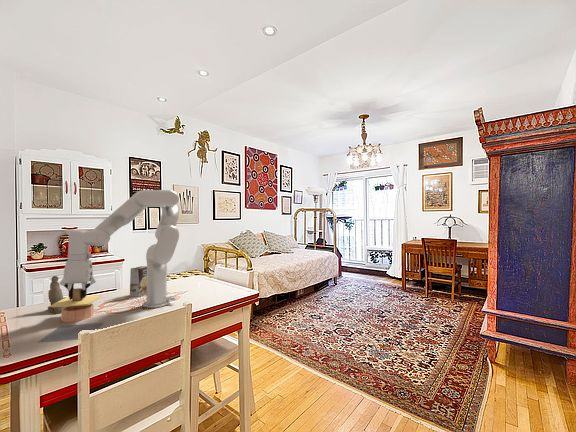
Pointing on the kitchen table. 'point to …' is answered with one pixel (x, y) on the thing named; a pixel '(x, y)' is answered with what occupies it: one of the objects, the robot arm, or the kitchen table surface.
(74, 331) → the mat
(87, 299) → the sheet
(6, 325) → the kitchen table surface
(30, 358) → the kitchen table surface
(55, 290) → the worn brown figurine
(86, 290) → the robot arm
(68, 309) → the bowl
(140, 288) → the coffee box
